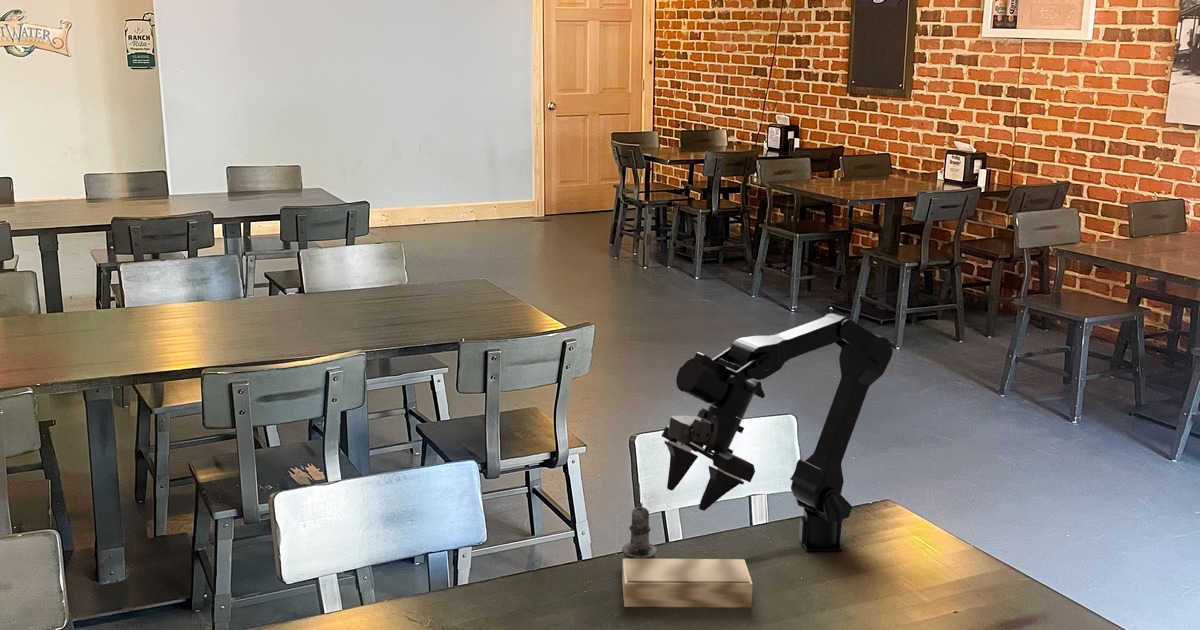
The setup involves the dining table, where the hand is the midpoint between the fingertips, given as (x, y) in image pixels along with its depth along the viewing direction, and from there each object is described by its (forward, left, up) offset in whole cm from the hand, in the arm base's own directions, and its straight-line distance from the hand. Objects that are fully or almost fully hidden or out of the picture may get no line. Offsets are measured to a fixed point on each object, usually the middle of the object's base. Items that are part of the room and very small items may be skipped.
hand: (685, 499), depth 174 cm
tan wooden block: (0, +5, -14) cm, 15 cm away
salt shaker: (+7, -4, -15) cm, 17 cm away
